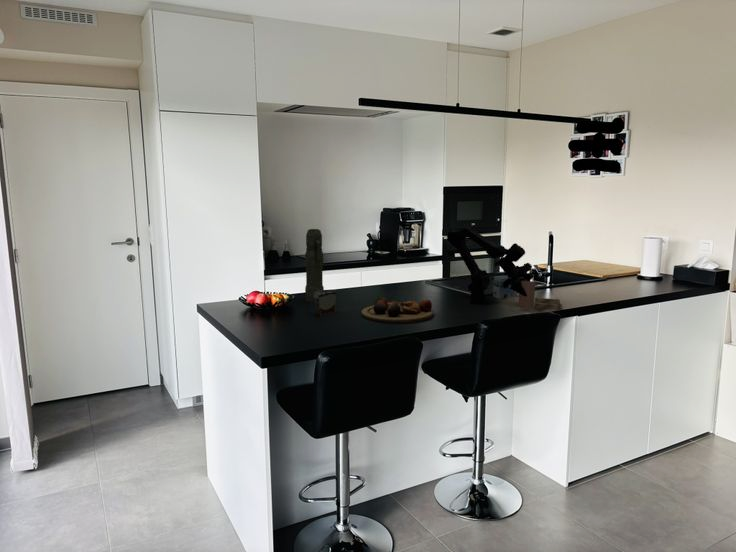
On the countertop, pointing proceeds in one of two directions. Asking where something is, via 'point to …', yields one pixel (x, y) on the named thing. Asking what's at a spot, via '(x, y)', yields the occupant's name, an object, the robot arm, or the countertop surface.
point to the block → (529, 299)
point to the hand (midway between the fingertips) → (529, 295)
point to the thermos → (313, 264)
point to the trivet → (525, 310)
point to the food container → (325, 302)
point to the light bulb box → (502, 288)
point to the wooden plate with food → (398, 311)
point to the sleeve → (547, 304)
